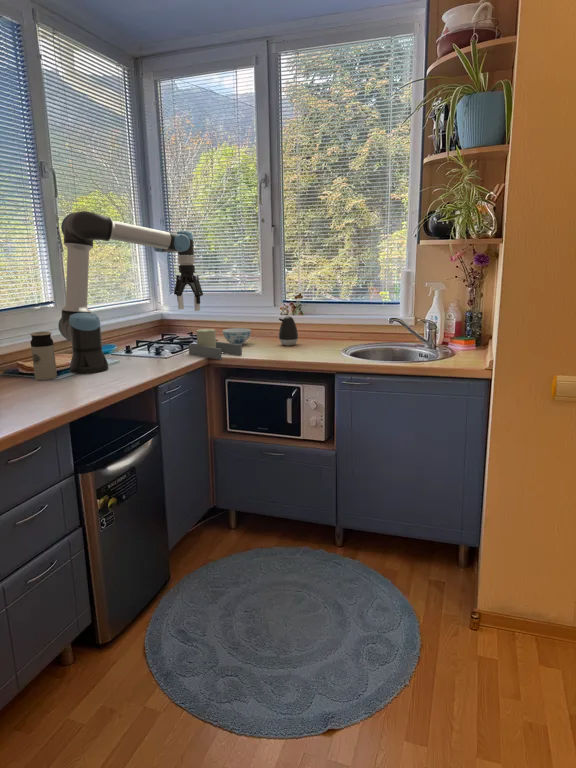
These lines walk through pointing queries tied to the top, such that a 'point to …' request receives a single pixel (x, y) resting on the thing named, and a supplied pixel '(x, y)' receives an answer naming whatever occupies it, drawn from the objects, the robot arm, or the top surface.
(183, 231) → the robot arm
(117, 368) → the top surface
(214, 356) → the channel
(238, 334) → the chinaware
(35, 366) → the travel mug
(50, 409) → the top surface
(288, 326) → the pump dispenser
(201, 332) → the can
